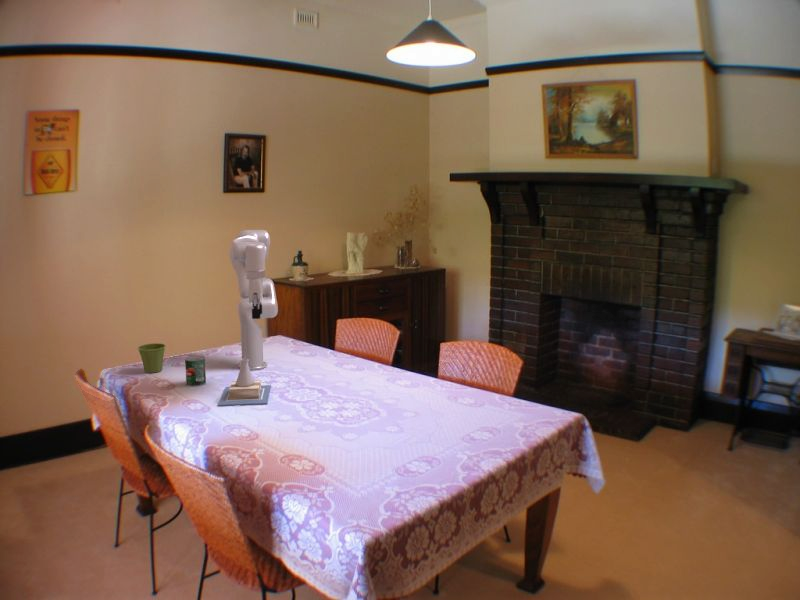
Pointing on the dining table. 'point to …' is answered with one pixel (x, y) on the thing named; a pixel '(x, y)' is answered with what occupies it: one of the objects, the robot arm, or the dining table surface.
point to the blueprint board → (262, 399)
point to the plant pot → (152, 356)
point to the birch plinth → (245, 391)
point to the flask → (244, 375)
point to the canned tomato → (195, 370)
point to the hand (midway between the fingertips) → (257, 316)
